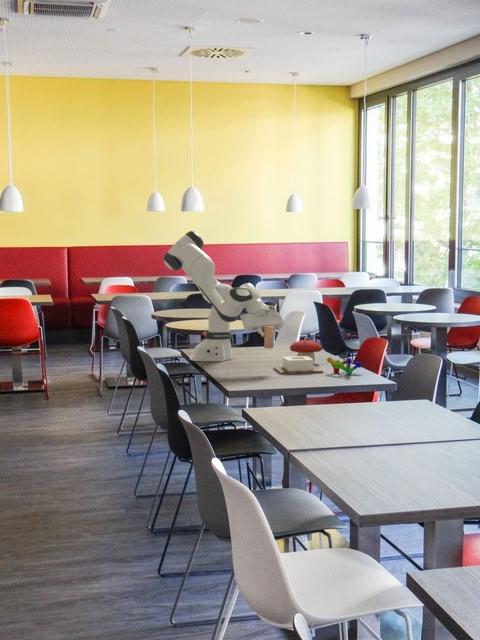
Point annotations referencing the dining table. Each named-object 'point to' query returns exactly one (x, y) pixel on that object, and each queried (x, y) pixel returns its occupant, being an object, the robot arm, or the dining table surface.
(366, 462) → the dining table surface
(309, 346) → the mushroom
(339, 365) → the decorative model
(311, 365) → the socket block
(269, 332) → the peg
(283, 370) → the base board
